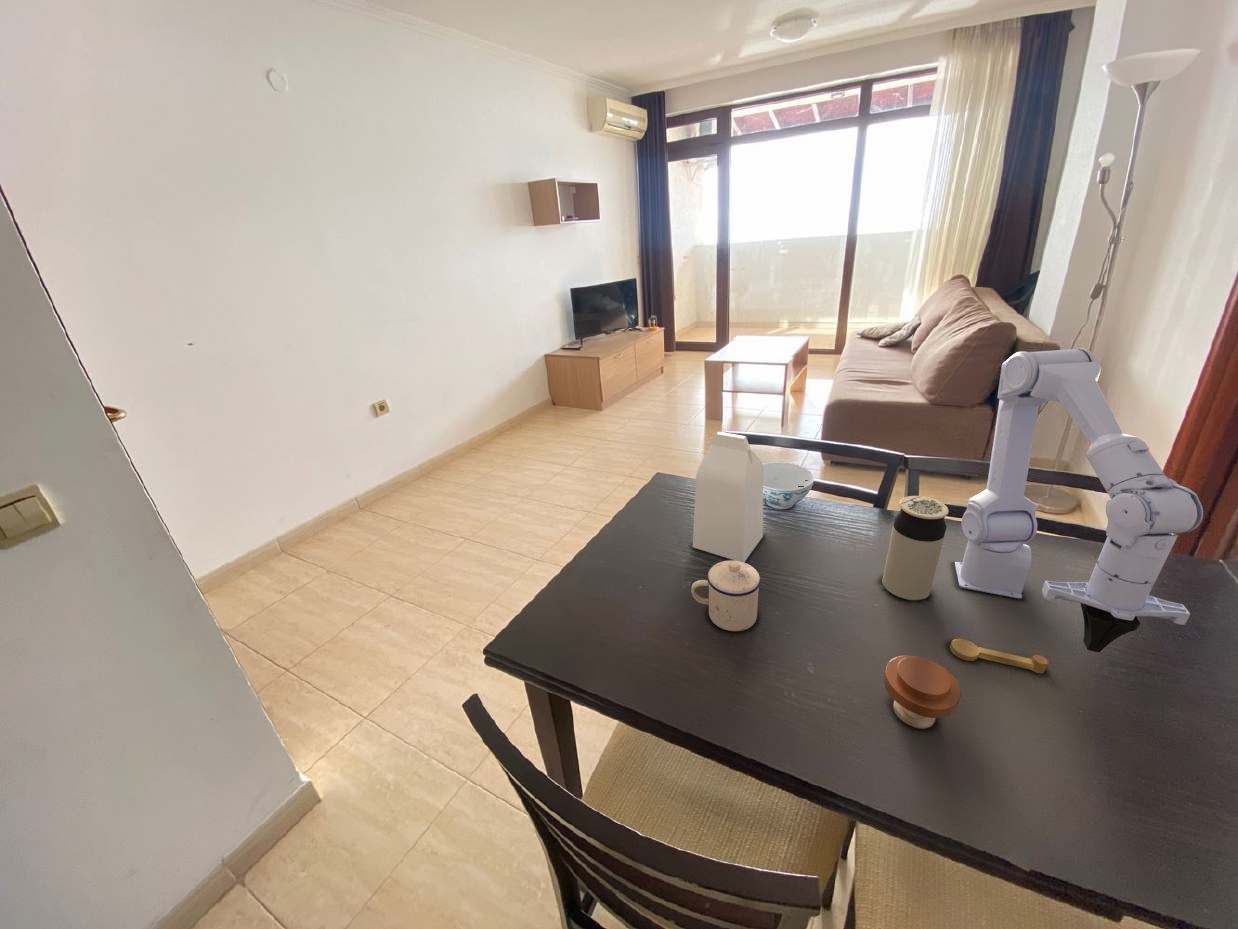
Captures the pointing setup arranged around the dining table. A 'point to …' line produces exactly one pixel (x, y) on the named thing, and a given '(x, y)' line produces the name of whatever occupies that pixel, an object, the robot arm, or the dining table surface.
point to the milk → (729, 499)
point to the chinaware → (785, 484)
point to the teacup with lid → (731, 595)
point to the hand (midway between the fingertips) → (1091, 646)
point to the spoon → (996, 656)
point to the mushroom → (921, 690)
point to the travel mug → (915, 547)
